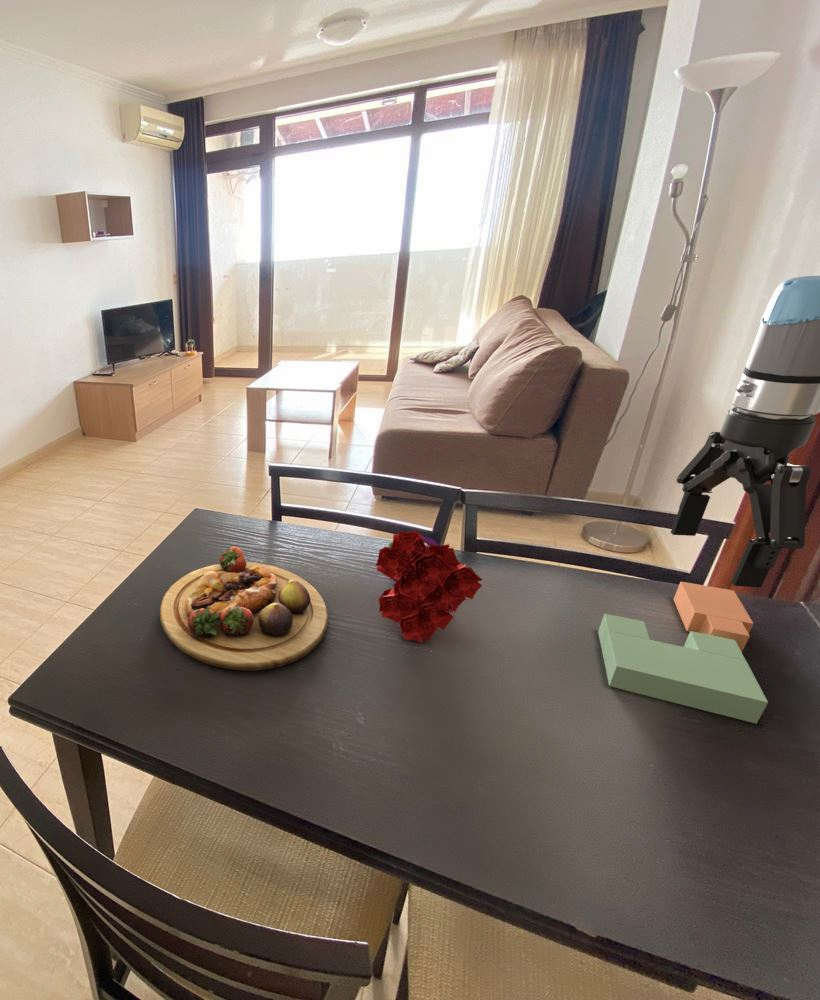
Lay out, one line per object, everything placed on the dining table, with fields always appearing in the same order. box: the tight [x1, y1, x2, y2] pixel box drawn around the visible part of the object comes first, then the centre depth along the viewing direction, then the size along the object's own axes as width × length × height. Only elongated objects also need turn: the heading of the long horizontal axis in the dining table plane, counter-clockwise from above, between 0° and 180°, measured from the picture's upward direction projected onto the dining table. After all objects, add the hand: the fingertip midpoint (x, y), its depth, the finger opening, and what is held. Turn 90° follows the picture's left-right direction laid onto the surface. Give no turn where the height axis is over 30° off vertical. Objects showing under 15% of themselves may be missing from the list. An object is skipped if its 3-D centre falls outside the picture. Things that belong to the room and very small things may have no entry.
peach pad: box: [673, 581, 755, 653], centre depth 91 cm, size 7×14×4 cm, turn 149°
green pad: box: [597, 613, 769, 725], centre depth 82 cm, size 16×14×4 cm
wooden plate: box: [159, 546, 329, 671], centre depth 103 cm, size 32×32×8 cm
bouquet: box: [375, 530, 483, 643], centre depth 104 cm, size 20×16×30 cm
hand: (711, 557), depth 75 cm, fingers open, 13 cm apart
